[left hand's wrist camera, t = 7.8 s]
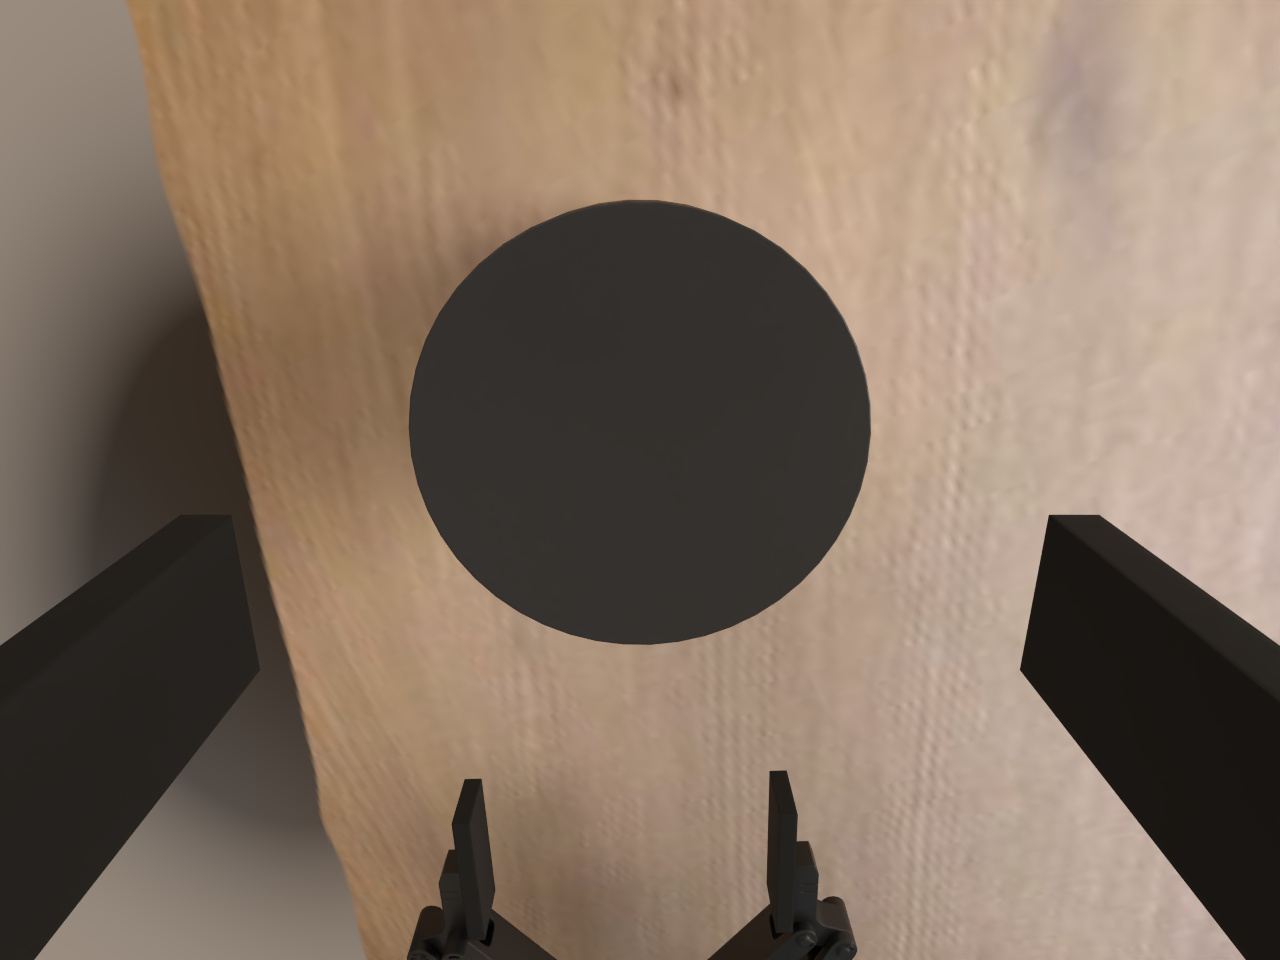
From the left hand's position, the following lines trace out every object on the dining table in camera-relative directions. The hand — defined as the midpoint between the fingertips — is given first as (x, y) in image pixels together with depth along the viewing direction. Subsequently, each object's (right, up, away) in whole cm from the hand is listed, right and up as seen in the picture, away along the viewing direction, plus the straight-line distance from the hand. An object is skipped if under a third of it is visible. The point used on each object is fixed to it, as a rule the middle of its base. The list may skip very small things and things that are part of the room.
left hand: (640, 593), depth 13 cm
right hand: (-1, -12, +22) cm, 25 cm away
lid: (0, +3, +7) cm, 8 cm away
